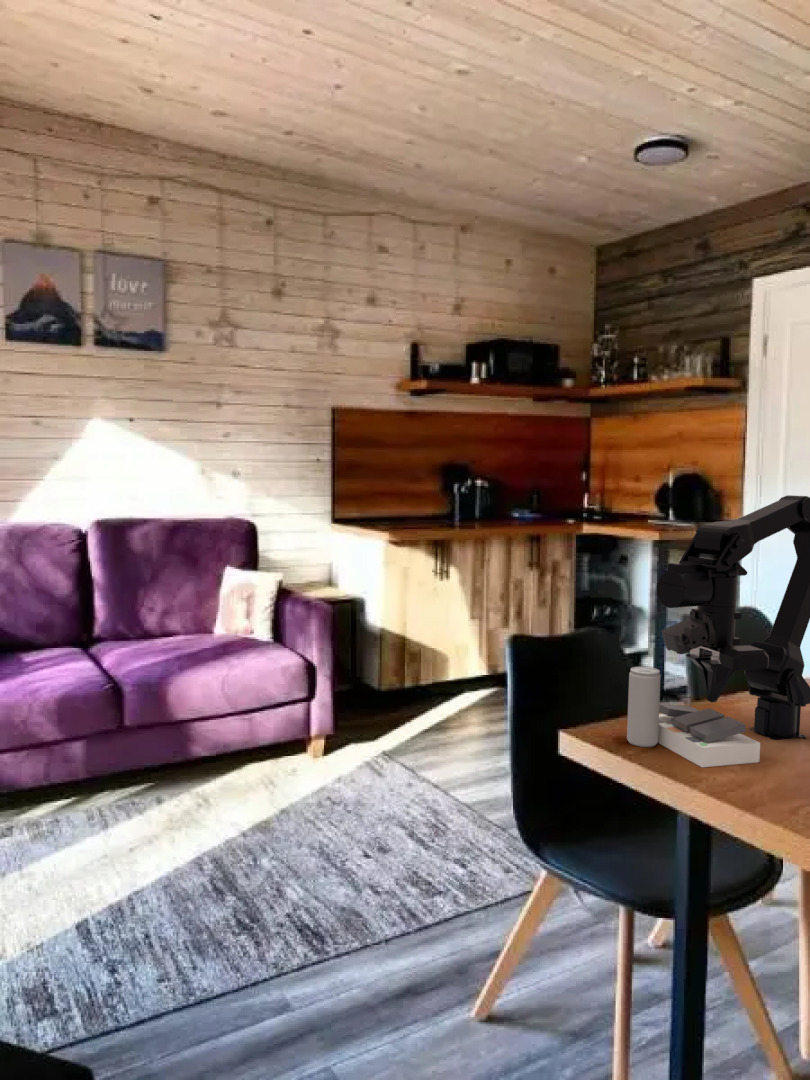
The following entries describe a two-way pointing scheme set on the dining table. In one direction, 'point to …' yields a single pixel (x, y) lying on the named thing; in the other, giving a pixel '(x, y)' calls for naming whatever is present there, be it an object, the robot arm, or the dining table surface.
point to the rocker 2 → (696, 719)
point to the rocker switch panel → (707, 746)
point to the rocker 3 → (717, 729)
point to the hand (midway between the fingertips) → (711, 701)
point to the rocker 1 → (675, 709)
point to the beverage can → (643, 706)
